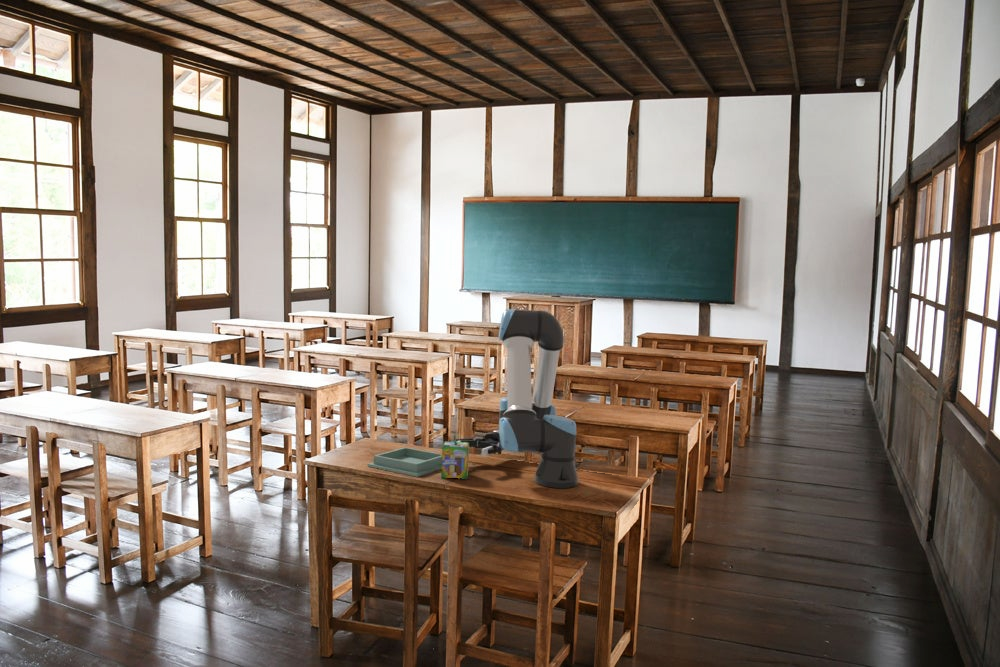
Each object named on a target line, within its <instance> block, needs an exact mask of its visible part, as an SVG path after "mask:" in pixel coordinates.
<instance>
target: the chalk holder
mask: <svg viewBox="0 0 1000 667" xmlns="http://www.w3.org/2000/svg"><path fill="white" fill-rule="evenodd" d="M367 466H369V467H368V468H372V467H373V468H372V469H377V468H378V469H377V470H381V469H382V471H386V470H387V471H388V472H391V473H396V474H397V473H398V474H401V475H405V476H411V477H416V478H419V477H421V476H425V475H427V474H431V473H434V472H436V471H435V470H437V471H439V470H438V469H440V470H442V469H441V468H442V453H438V452H431V451H428V450H427V451H426V450H423V449H422V450H421V449H417V448H411V447H406V446H405V447H401V448H397V449H394V450H390V451H389V450H388V451H387V452H383V453H382V452H381V453H378V454H375V455H373V462H369V463H367ZM387 471H386V472H387ZM433 471H434V472H433Z"/></svg>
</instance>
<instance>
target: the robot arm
mask: <svg viewBox="0 0 1000 667" xmlns="http://www.w3.org/2000/svg"><path fill="white" fill-rule="evenodd" d="M499 324H500V325H499V330H498V340H499V341H502V346H503V347H504V348H505V349H506V357H507V359H506V367H507V368H506V369H507V370H506V373H507V375H506V376H507V377H506V378H507V379H506V382H507V387H506V388H507V396H506V397H502V398H501V399H500V404H499V410H498V411H499V414H498V415H499V416H498V417H499V418H498V429H497V430H493V431H489V432H487V433H485V434H484V435H483V437H481V438H477V437H475V436H473V437H467V438H466V437H465V438H456V441H457V442H467V443H469V448H475V449H481V452H480V454H481V455H480V457H483V458H484V457H486V456H489V455H496V454H498V455H502V453H503V452H502V451H505V452H513V453H532V454H533V453H539V454H540V453H541V454H540V456H541V457H540V462H539V464H538V467H537V468H536V471H535V474H534V483H536V484H537V485H539V486H543V487H547V488H554V489H570V488H574V487H577V486H578V485H579V476H578V472H577V468H576V463H575V455H576V441H577V440H576V439H577V435H578V433H577V424H576V421H574V420H573V419H570V418H567V417H565V416H560V415H556V414H557V413H556V406H555V405H554V404H552V402H553V395H554V389H555V388H554V387H555V382H556V376H557V369H558V364H559V358H560V351H562V349H563V348H564V342H565V337H564V336H565V334H564V332H563V328H562V325H561V323H560V322H559V319H557V317H555V316H554V315H553V314H552V313H550V312H548V311H545V310H535V309H517V308H513V309H512V308H511V309H510V308H509V309H505V310H503V312H502V315H501V319H500V323H499ZM536 342H537V345H538V347H539V353H538V358H537V367H536V372H535V381H534V388H533V394H532V363H531V360H532V359H531V358H532V356H531V349H532V348H533V347H534V346H535V343H536ZM532 395H533V397H532Z"/></svg>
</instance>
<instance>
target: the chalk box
mask: <svg viewBox="0 0 1000 667" xmlns="http://www.w3.org/2000/svg"><path fill="white" fill-rule="evenodd" d="M452 436H453V441H449V440H448V441H446V440H445V441H444V442H443V445H442V447H441V448H442V449H441V450H442V451H441V454H442V469H441V476H440V477H441V479H447V478H458V479H457V480H467V479H468V476H469V455H470V447H469V443H467V442H457V441H456V439H457V437H456V434H455V433H453V435H452ZM460 478H461V479H460Z"/></svg>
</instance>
